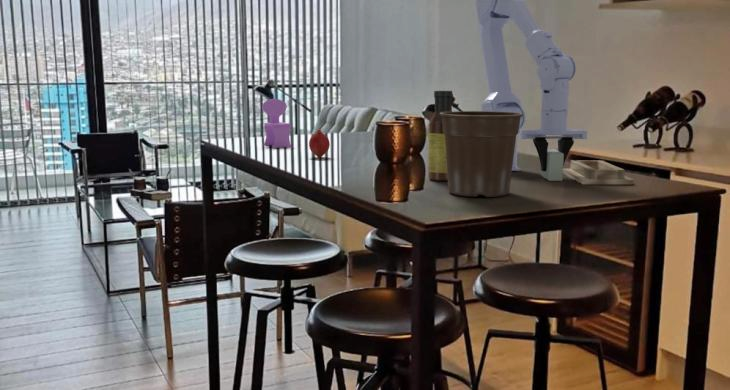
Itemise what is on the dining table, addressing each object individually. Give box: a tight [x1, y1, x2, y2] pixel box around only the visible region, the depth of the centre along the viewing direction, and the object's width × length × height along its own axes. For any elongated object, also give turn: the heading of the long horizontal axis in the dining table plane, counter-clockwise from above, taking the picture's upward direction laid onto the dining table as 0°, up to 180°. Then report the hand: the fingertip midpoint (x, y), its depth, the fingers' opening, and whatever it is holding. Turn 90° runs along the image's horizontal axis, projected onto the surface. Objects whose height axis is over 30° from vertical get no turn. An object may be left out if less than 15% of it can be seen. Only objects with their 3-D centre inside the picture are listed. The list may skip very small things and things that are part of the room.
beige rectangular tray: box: [563, 159, 635, 185], centre depth 161 cm, size 11×17×3 cm, turn 179°
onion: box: [308, 128, 331, 158], centre depth 198 cm, size 6×6×8 cm
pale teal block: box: [540, 149, 564, 182], centre depth 161 cm, size 3×8×6 cm, turn 179°
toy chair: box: [261, 98, 292, 149], centre depth 227 cm, size 8×9×15 cm
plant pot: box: [440, 110, 523, 198], centre depth 142 cm, size 16×16×16 cm
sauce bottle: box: [427, 90, 454, 182], centre depth 158 cm, size 7×6×20 cm
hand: (551, 170), depth 161 cm, fingers closed on pale teal block, 3 cm apart
